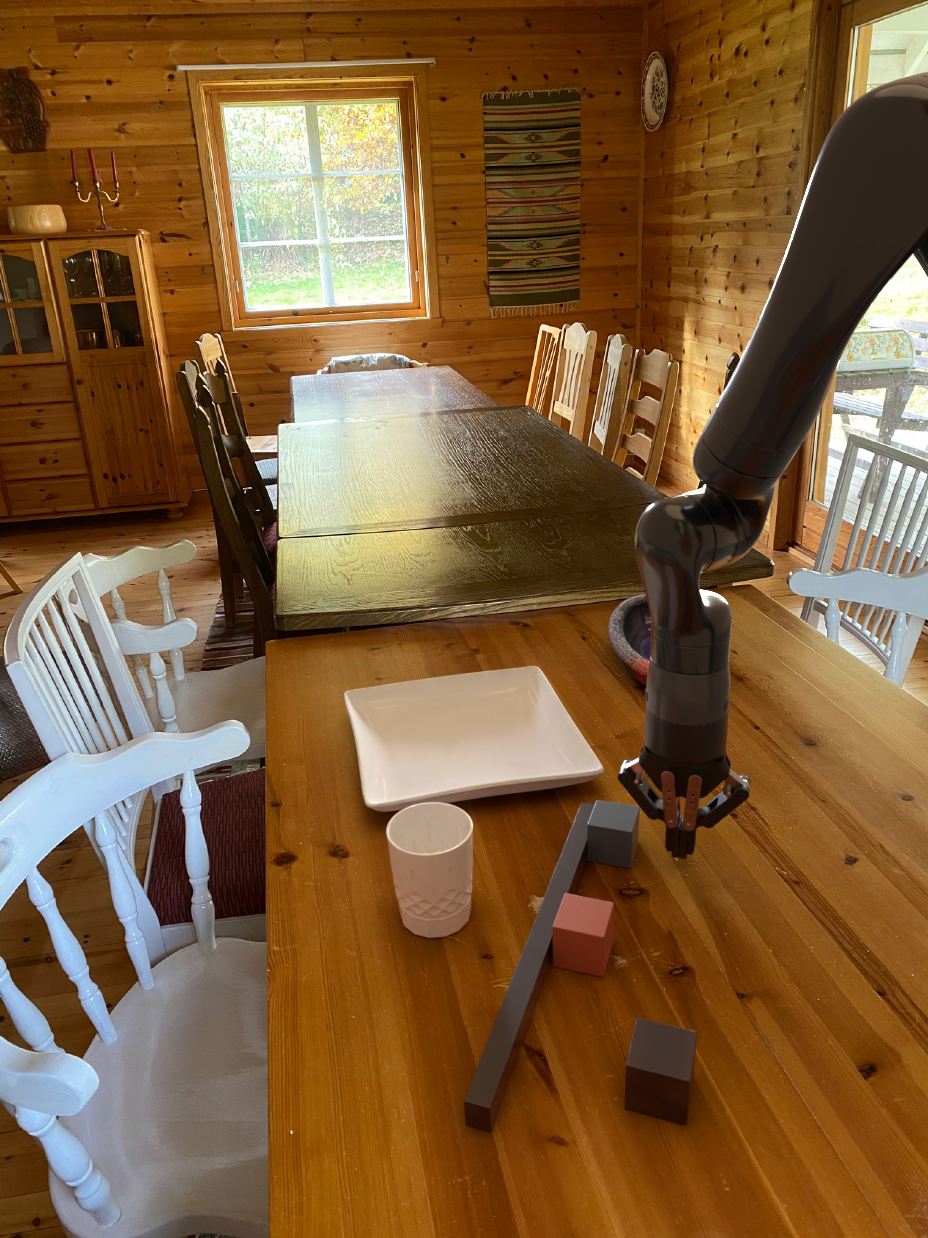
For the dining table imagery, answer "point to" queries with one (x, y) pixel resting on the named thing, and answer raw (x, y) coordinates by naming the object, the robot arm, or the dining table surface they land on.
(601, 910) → the terracotta block
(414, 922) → the white cup
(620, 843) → the slate block
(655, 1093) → the walnut block
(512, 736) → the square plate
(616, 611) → the dish
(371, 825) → the dining table surface
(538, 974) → the rail
